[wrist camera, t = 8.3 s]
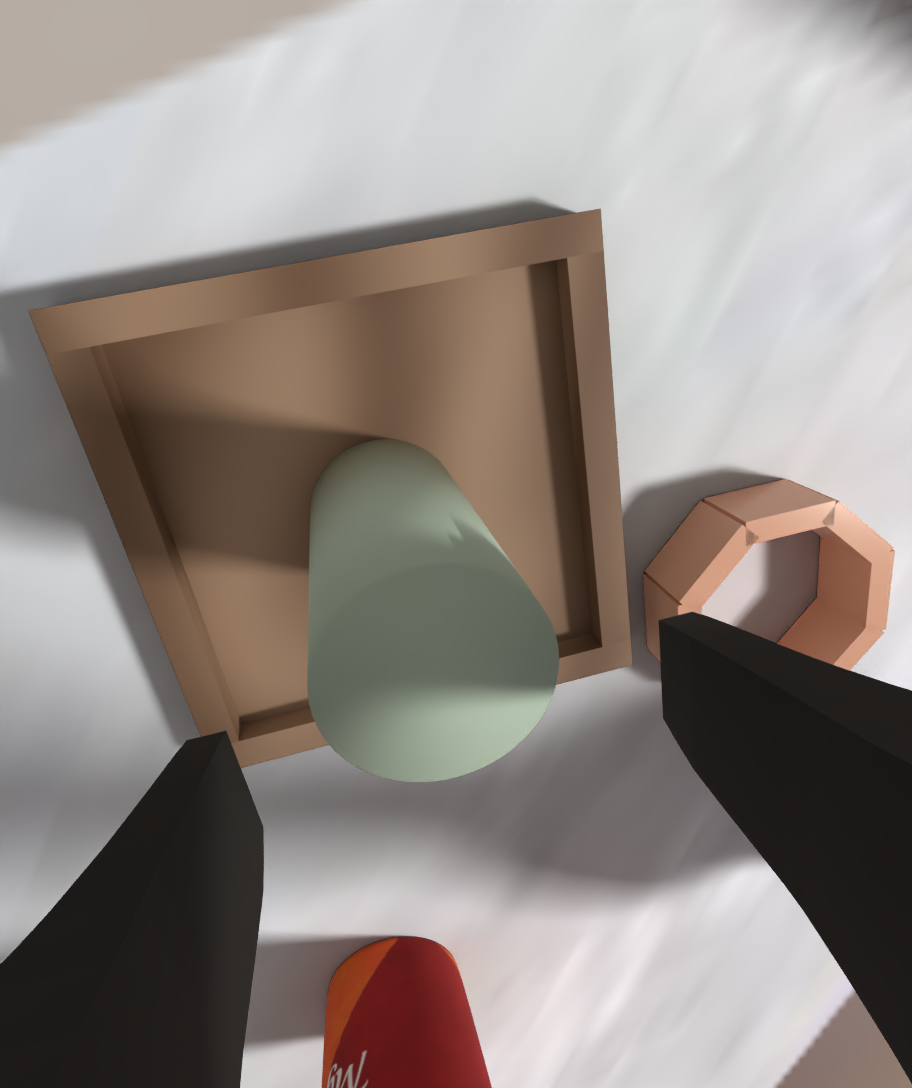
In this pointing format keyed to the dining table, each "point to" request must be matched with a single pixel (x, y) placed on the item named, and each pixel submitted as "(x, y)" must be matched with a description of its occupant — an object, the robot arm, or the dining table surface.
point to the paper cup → (400, 1020)
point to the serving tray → (349, 441)
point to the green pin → (417, 622)
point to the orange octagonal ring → (764, 514)
